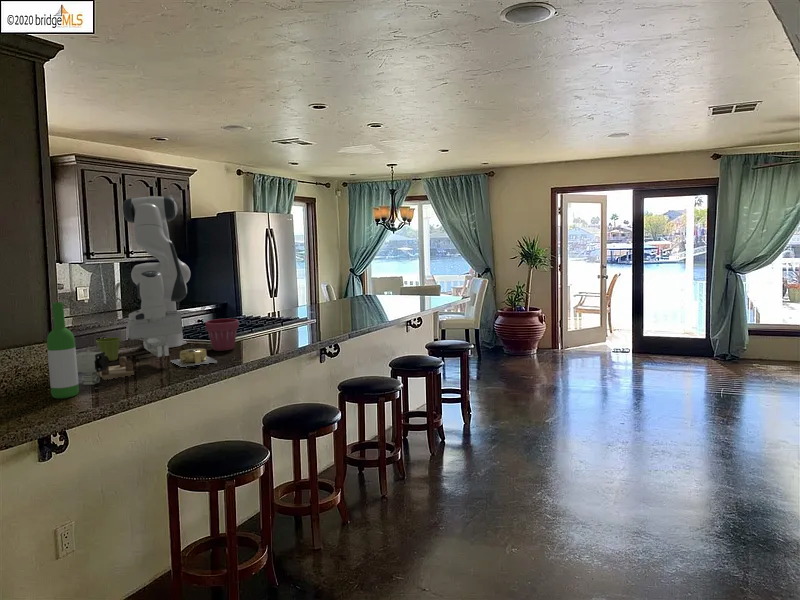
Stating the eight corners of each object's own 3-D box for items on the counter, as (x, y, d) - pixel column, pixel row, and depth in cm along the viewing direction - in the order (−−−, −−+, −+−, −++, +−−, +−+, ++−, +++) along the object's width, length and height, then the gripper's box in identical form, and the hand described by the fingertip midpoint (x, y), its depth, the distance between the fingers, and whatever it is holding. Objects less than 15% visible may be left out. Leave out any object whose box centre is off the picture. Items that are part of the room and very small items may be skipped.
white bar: (145, 349, 239) (145, 339, 238) (156, 347, 241) (155, 338, 240) (158, 357, 224) (157, 346, 224) (168, 355, 227) (168, 345, 226)
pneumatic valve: (79, 382, 207) (76, 348, 206) (111, 382, 206) (108, 348, 205) (69, 386, 202) (66, 351, 200) (101, 386, 200) (98, 351, 199)
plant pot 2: (227, 352, 257) (225, 323, 255) (200, 351, 261) (198, 322, 260) (246, 346, 270) (244, 318, 269) (219, 345, 275) (218, 318, 273)
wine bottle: (59, 400, 184) (51, 304, 180) (46, 397, 188) (38, 303, 184) (84, 394, 190) (76, 301, 187) (70, 391, 194) (63, 301, 191)
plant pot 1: (127, 358, 249) (125, 338, 248) (108, 362, 240) (106, 341, 239) (111, 357, 253) (110, 337, 252) (92, 361, 244) (90, 340, 243)
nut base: (170, 362, 238) (170, 359, 238) (205, 357, 246) (205, 355, 246) (181, 368, 227) (180, 365, 226) (217, 362, 235) (217, 360, 235)
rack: (95, 372, 223) (94, 359, 222) (125, 368, 229) (124, 355, 228) (103, 380, 210) (102, 366, 209) (134, 375, 216) (133, 362, 215)
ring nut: (178, 359, 238) (177, 349, 238) (203, 356, 243) (203, 347, 243) (184, 365, 226) (184, 355, 226) (211, 361, 231) (210, 352, 230)
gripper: (178, 309, 240) (180, 342, 242) (124, 314, 228) (127, 350, 229) (183, 311, 235) (185, 345, 237) (128, 316, 223) (130, 352, 224)
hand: (156, 347), depth 233 cm, fingers closed on white bar, 4 cm apart
